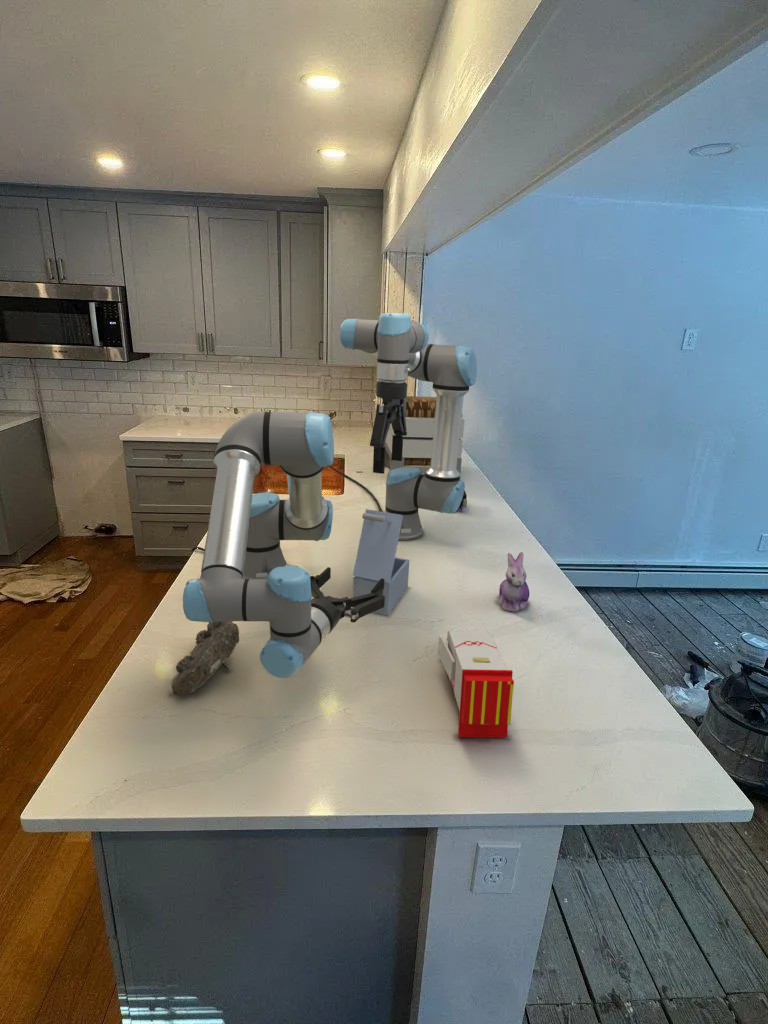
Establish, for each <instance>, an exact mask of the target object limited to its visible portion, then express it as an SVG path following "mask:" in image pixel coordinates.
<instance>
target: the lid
mask: <svg viewBox="0 0 768 1024" xmlns="http://www.w3.org/2000/svg"><path fill="white" fill-rule="evenodd" d="M361 517H362V520H363V523H362V527H361V533H360V537H359V543H358V548H357V553H356V556H355V563H354V567H353V572H352V576H353V577H355V576H357V577H362V578H367V579H372V580H377V581H380V579H381V578H382V579H384V582H386V583H390V581H391V576H392V570H393V565H394V560H395V557H396V554H397V549H398V545H399V540H398V539H399V534H400V529H401V524H402V519H403V515H399V514H393V513H387V512H385V511H383V512H380V510H375V509H374V510H373V509H367V508H365V512H363V513H362V516H361Z"/></svg>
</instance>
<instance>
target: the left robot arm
mask: <svg viewBox="0 0 768 1024" xmlns="http://www.w3.org/2000/svg"><path fill="white" fill-rule="evenodd" d="M334 441H335V440H334V430H333V424H332V420H331V418H330V417H329V415H327V414H325V413H320V412H319V413H318V412H314V411H309V412H308V411H307V412H306V411H305V412H304V411H303V412H300V411H299V412H298V411H266V410H260V411H253V412H250V413H248V414H245V415H243V416H241V417H240V418H238V419H236V420H235V421H234V422H233V423H232V424H231V425H230V426H229V427H228V428H227V430H226V431H225V432H224V433H223V435H222V436H221V438H220V439H219V441H218V443H217V446H216V448H215V451H214V457H213V467H214V470H215V471H216V476H215V483H214V488H213V496H212V501H211V506H210V514H209V519H208V526H207V532H206V539H205V545H204V548H203V547H202V546H201V547H200V546H194V547H192V548H191V549H190V551H191V552H194V551H195V550H199V551H202V552H203V555H202V557H203V558H202V562H201V563H202V564H201V569H200V577H199V578H198V577H197V578H191V579H189V580H187V581H186V583H185V586H184V588H183V594H182V609H183V614H184V616H185V618H186V619H187V620H189V621H190V622H201V623H209V622H210V623H213V622H225V621H232V622H269V640H267V641H266V642H265V643H264V646H263V647H262V648H261V650H260V653H259V660H260V663H261V665H262V667H263V669H264V670H265V671H266V672H267V673H268V674H269V675H271V676H273V677H275V678H278V679H288V678H291V677H292V676H294V675H295V674H296V673H297V671H299V670H300V669H302V668H303V667H304V666H305V663H306V662H307V661H308V660H309V659H310V658H311V656H312V655H313V654H314V652H315V651H317V649H318V648H319V646H320V645H321V644H322V643H323V641H324V640H325V639H326V638H327V637H328V636H329V635H330V634H331V632H332V631H333V630H334V629H335V628H336V626H337V625H338V623H339V621H340V620H341V619H343V618H345V617H346V618H348V619H350V623H356V622H358V620H360V619H361V618H363V617H365V616H367V615H370V614H372V613H374V612H375V611H377V610H379V609H381V608H384V606H385V596H383V590H384V579H382V578H381V579H380V581H379V582H378V583H377V584H376V585H375V587H374V588H373V589H372V590H371V593H370V594H366V595H362V596H357V597H353V596H352V597H348V596H344V597H341V598H340V597H333V596H331V595H324V593H323V591H322V590H321V588H322V587H323V586H324V585H325V584H326V583H327V582H328V581H329V580H330V579H331V578H332V576H331V573H332V568H331V567H330V566H328V567H326V568H325V569H324V570H323V571H322V572H321V573H320V574H316V575H315V576H314V575H310V573H309V572H308V570H307V569H305V568H303V567H302V566H298V565H294V564H287V561H286V559H285V556H284V553H283V550H282V548H281V541H315V542H320V541H326V540H328V539H329V538H330V536H331V533H332V527H333V526H332V525H333V520H334V519H333V518H334V509H333V503H332V501H331V500H329V499H325V497H324V496H323V488H322V487H323V483H322V482H323V481H322V480H323V479H322V478H323V476H322V472H323V471H324V470H325V468H327V467H329V466H332V465H333V464H334V460H335V459H334V458H335V442H334ZM261 466H279V468H280V469H281V471H282V472H283V473H284V474H285V475H286V483H287V484H286V485H287V490H288V491H287V492H288V499H281V498H280V496H279V494H278V493H275V492H271V491H269V492H268V491H265V492H257V493H253V492H254V482H255V477H256V476H257V475H258V474H259V473H260V471H261ZM197 548H198V549H197Z"/></svg>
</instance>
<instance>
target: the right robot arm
mask: <svg viewBox="0 0 768 1024" xmlns="http://www.w3.org/2000/svg"><path fill="white" fill-rule="evenodd" d="M429 339H430V338H429V330H428V329H427V327H426V326H425V325H424V324H423V323H421V322H418V321H413V320H412V318H411V315H410V314H409V313H397V312H396V313H395V312H382V313H381V314H380V315H379V318H378V320H377V319H365V318H364V319H363V318H346V319H345V320H343V322H342V323H341V325H340V328H339V340H340V343H341V345H342V347H343V348H344V349H349V350H353V351H354V350H359V351H361V352H364V353H367V354H369V355H371V356H372V357H375V358H376V374H375V375H376V376H375V378H376V379H377V381H376V383H375V396H376V397H377V398H379V399H382V401H381V404H380V403H377V404H376V406H375V407H376V408H375V409H376V410H375V417H374V421H373V426H372V431H371V437H370V441H369V447H373V456H372V458H373V459H372V473H374V474H381V475H384V474H385V467H386V466H385V447H384V444H385V442H386V441H385V440H386V437H387V433H388V430H389V427H390V424H392V428H393V431H394V435H393V437H392V458H391V460H395V461H402V451H403V436H406V435H407V432H406V430H407V429H406V419H405V410H404V398H406V397H407V396H408V383H407V382H406V381H407V380H408V377H410V378H412V379H415V380H417V381H420V382H429V383H432V386H431V387H432V390H433V391H434V393H435V394H436V396H435V397H436V408H435V420H434V432H433V444H432V456H431V465H430V466H429V468H427V469H426V470H425V473H424V474H422V470H421V468H419V467H416V466H406V467H405V466H404V467H403V468H397V469H393V470H391V471H390V470H389V471H388V473H387V475H386V482H385V504H384V505H385V507H384V508H385V509H384V511H383V509H382V507H381V504H380V503H379V501H378V500H377V499H378V498H376V497H375V495H374V494H373V492H371V491H370V490H369V489H368V488H367V486H364V485H363V484H362V483H360V482H358V481H357V480H356V479H354V478H352V477H350V476H348V475H347V474H346V473H344V472H341V471H340V470H338V469H337V468H335V467H333V466H332V465H330V466H328V467H329V468H330V469H332V470H333V471H335V472H336V473H338V474H339V475H341V476H343V477H344V478H347V479H348V480H350V481H352V482H353V483H355V484H357V485H358V486H360V487H361V488H363V490H365V491H366V492H367V493H368V494H369V495H370V496H371V497H372V498H373V500H374V502H375V503H376V505H377V508H378V511H380V512H387V513H393V514H399V515H403V519H402V524H401V529H400V534H399V539H398V541H410V540H415V539H418V538H420V537H421V536H422V535H423V525H422V524H421V518H420V515H419V509H420V510H424V511H425V510H426V511H431V512H438V513H440V514H451V515H452V514H454V513H456V512H457V511H458V507H459V505H460V503H461V501H462V498H463V494H464V490H465V489H466V483H465V481H464V480H463V479H461V474H460V473H459V472H458V470H457V469H456V467H457V457H458V447H459V437H460V427H461V418H463V408H464V407H463V406H464V398H465V397H464V396H465V395H467V394H468V393H469V392H470V387H472V386H474V385H475V383H476V380H477V375H478V363H477V357H476V353H475V351H474V350H473V348H472V347H470V346H464V345H459V344H458V345H455V344H454V345H451V344H438V343H437V344H436V343H435V344H434V343H429ZM465 491H466V490H465Z"/></svg>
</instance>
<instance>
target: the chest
mask: <svg viewBox="0 0 768 1024" xmlns="http://www.w3.org/2000/svg"><path fill="white" fill-rule="evenodd" d="M409 575H410V559H408V558H402V557H396V556H395V560H394V565H393V570H392V576H391V581H390V583H386V582H384V590H383V596H385V606H384V608H381V609H379V610H377V611H375V612H373V613H374V614H379V615H384V616H389V615H390V613H391V612H392V610H393V609H394V608H395V607H396V605H397V604H398V603H399V601H400V600H401V598H402V597H403V595H404V594H405V592H406V591H407V590H408V588H409ZM378 582H379V581H377V580H372V579H367V578H362V577H357V576H353V578H352V598H353V597H357V596H362V595H366V594H370V593H371V590H372V589H373V588H374V587H375V585H376V584H377V583H378Z"/></svg>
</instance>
